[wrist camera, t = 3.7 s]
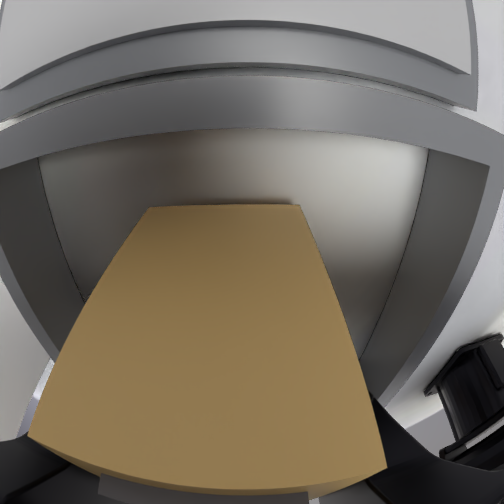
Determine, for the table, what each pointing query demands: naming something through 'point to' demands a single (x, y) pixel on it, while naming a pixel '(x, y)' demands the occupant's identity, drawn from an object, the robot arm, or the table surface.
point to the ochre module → (213, 367)
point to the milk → (17, 365)
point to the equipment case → (253, 116)
